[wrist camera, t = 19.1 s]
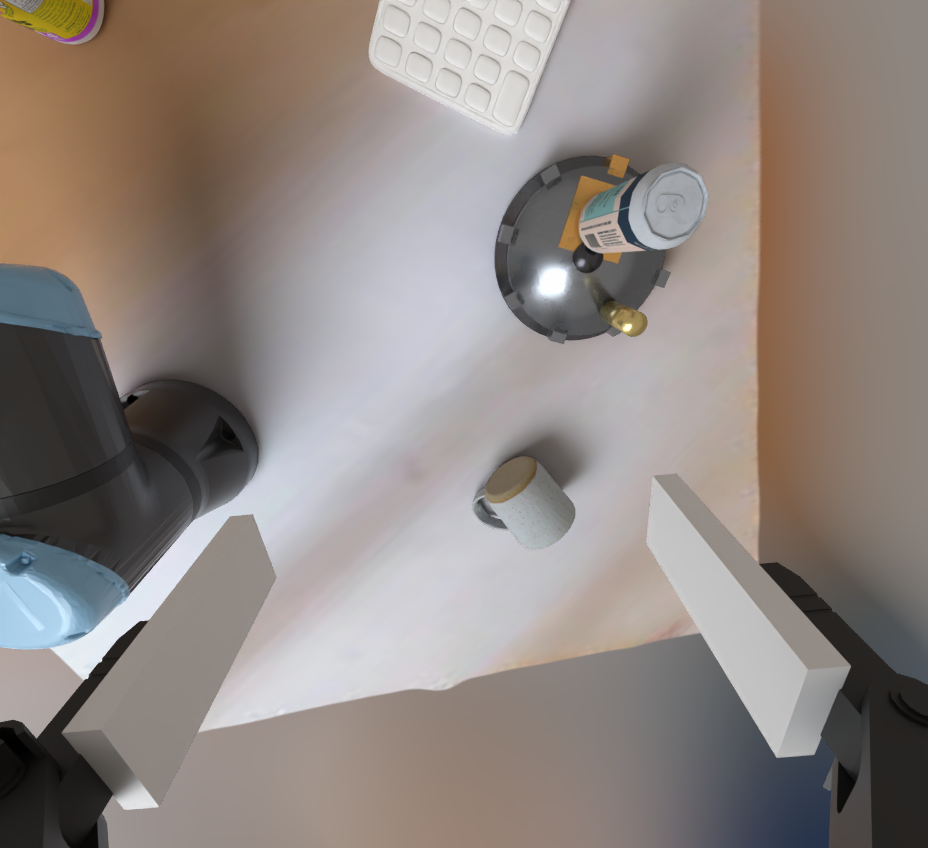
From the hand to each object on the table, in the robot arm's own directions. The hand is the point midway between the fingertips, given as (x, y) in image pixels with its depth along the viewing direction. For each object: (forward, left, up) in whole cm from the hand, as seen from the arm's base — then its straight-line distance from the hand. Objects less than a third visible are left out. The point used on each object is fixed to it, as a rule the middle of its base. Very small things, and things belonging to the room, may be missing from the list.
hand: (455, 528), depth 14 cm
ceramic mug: (+14, -15, -32) cm, 38 cm away
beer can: (+8, +14, -29) cm, 33 cm away
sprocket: (+8, +11, -32) cm, 34 cm away
